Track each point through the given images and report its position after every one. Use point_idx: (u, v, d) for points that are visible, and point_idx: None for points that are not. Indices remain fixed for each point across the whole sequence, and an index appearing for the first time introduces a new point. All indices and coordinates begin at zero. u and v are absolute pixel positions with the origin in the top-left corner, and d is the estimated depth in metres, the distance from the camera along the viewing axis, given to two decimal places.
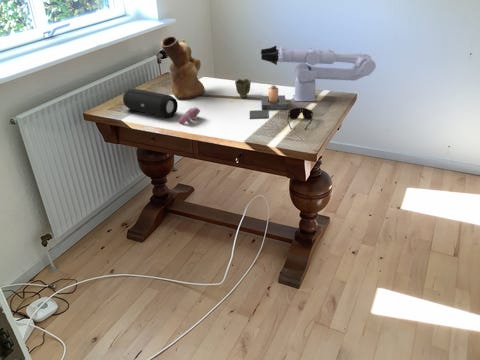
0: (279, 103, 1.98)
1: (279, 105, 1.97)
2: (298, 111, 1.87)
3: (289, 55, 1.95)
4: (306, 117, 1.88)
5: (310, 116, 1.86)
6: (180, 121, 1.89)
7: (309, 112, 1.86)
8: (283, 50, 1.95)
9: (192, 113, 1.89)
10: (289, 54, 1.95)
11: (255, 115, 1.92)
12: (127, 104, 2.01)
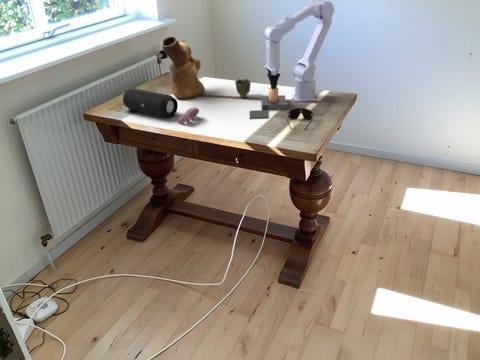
0: (279, 103, 1.98)
1: (279, 105, 1.97)
2: (298, 111, 1.87)
3: (271, 60, 1.89)
4: (306, 117, 1.87)
5: (310, 116, 1.86)
6: (179, 121, 1.89)
7: (309, 112, 1.86)
8: (267, 65, 1.92)
9: (191, 113, 1.89)
10: (270, 60, 1.89)
11: (255, 115, 1.92)
12: (127, 104, 2.01)
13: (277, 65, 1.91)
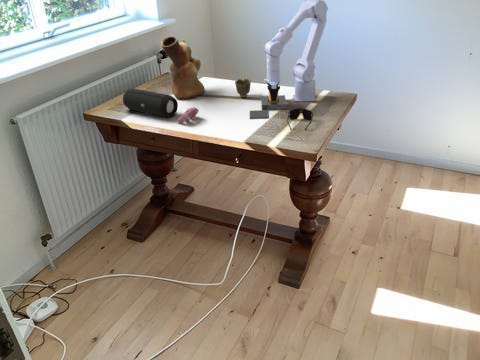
0: (279, 103, 1.98)
1: (279, 105, 1.97)
2: (298, 112, 1.87)
3: (271, 74, 1.92)
4: (306, 118, 1.87)
5: (310, 117, 1.86)
6: (179, 121, 1.89)
7: (309, 113, 1.85)
8: (267, 79, 1.95)
9: (191, 113, 1.89)
10: (270, 74, 1.92)
11: (255, 115, 1.92)
12: (127, 104, 2.01)
13: (277, 79, 1.94)
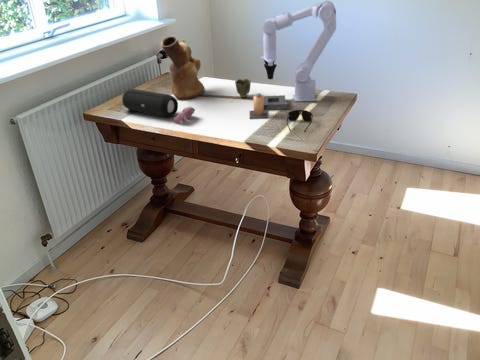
0: (279, 103, 1.98)
1: (279, 105, 1.97)
2: (297, 113, 1.86)
3: (268, 51, 1.97)
4: (305, 119, 1.86)
5: (309, 118, 1.85)
6: (175, 120, 1.90)
7: (308, 114, 1.84)
8: (264, 56, 2.00)
9: (187, 112, 1.90)
10: (267, 51, 1.97)
11: (255, 115, 1.92)
12: (127, 105, 2.00)
13: (273, 56, 1.99)
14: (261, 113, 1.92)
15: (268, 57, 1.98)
